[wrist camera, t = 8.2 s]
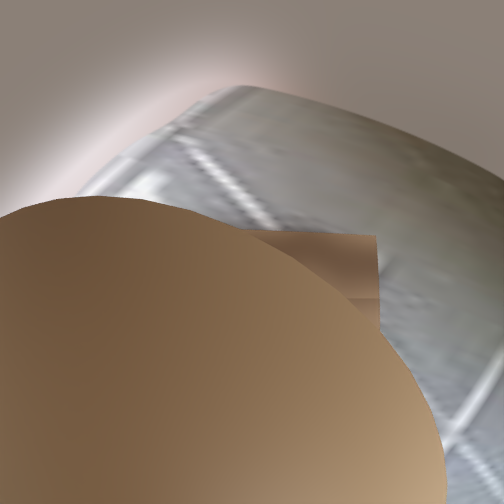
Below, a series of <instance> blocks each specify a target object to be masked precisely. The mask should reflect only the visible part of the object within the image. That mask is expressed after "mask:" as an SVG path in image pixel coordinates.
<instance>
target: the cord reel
mask: <svg viewBox="0 0 504 504" xmlns="http://www.w3.org/2000/svg"><path fill="white" fill-rule="evenodd" d="M446 496H447V477H446V468H445V459H444V452H443V447H442V443H441V440H440V437H439V433H438V430H437V427H436V424H435V421H434V418H433V415H432V412H431V409H430V407H429V405H428V403H427V401H426V400H425V398H424V396H423V394H422V392H421V390H420V388H419V386H418V384H417V383H416V381H415V379H414V377H413V375H412V373H411V371H410V370H409V368H408V367H407V366H406V364H405V363H404V362H403V360H402V359H401V358H400V356H399V355H398V354H397V353H396V351H395V350H394V349H393V347H392V346H391V345H390V343H389V342H388V341H387V340H386V338H385V337H384V336H383V334H382V333H381V332H380V330H379V329H378V328H377V327H376V326H375V325H374V324H373V323H371V322H370V321H369V320H368V319H367V318H366V317H365V316H364V315H363V314H362V313H361V312H360V311H359V310H358V309H357V308H356V307H355V306H354V305H353V304H352V303H351V302H350V301H349V300H348V299H347V298H346V297H345V296H343V295H342V294H341V293H340V292H339V291H338V290H337V289H335V288H334V287H332V286H331V285H330V284H328V283H327V282H326V281H324V280H323V279H322V278H320V277H319V276H317V275H316V274H315V273H313V272H312V271H311V270H309V269H308V268H306V267H305V266H304V265H302V264H301V263H299V262H298V261H297V260H295V259H294V258H293V257H291V256H289V255H287V254H285V253H283V252H282V251H280V250H278V249H276V248H274V247H272V246H271V245H269V244H267V243H265V242H263V241H261V240H259V239H258V238H256V237H254V236H252V235H250V234H248V233H247V232H245V231H243V230H241V229H238V228H235V227H233V226H230V225H228V224H225V223H222V222H220V221H217V220H214V219H212V218H209V217H207V216H204V215H201V214H199V213H196V212H193V211H191V210H187V209H182V208H178V207H174V206H169V205H165V204H161V203H156V202H152V201H147V200H143V199H133V198H120V197H107V196H87V197H75V198H64V199H56V200H51V201H48V202H44V203H39V204H35V205H32V206H28V207H24V208H21V209H19V210H17V211H15V212H13V213H10V214H8V215H6V216H3V217H1V218H0V504H446Z"/></svg>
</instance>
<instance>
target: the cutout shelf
mask: <svg viewBox="0 0 504 504" xmlns="http://www.w3.org/2000/svg"><path fill="white" fill-rule="evenodd" d="M243 231H245V232H247V233H248V234H250V235H252V236H254V237H256V238H258V239H259V240H261V241H263V242H265V243H267V244H269V245H271V246H272V247H274V248H276V249H278V250H280V251H282V252H283V253H285V254H287V255H289V256H291V257H293V258H294V259H295V260H297V261H298V262H299V263H301V264H302V265H304V266H305V267H306V268H308V269H309V270H311V271H312V272H313V273H315V274H316V275H317V276H319V277H320V278H322V279H323V280H324V281H326V282H327V283H328V284H330V285H331V286H332V287H334V288H335V289H337V290H338V291H339V292H340V293H341V294H342V295H343V296H345V297H346V298H347V299H348V300H349V301H350V302H351V303H352V304H353V305H354V306H355V307H356V308H357V309H358V310H359V311H360V312H361V313H362V314H363V315H364V316H365V317H366V318H367V319H368V320H369V321H370V322H371V323H373V324H374V325H375V326H376V327H377V328H378V329H379V330H380V302H379V275H378V257H377V243H376V236H372V235H354V234H334V233H314V232H292V231H268V230H243Z"/></svg>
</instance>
